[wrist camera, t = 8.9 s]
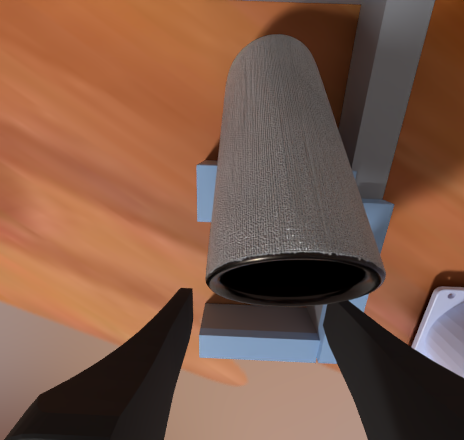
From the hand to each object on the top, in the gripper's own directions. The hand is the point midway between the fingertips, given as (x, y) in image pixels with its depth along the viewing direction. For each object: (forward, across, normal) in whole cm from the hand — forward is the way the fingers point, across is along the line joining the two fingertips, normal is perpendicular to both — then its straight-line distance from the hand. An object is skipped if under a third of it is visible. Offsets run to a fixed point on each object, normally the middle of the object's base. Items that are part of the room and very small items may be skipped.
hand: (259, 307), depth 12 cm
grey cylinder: (+4, 0, -11) cm, 12 cm away
